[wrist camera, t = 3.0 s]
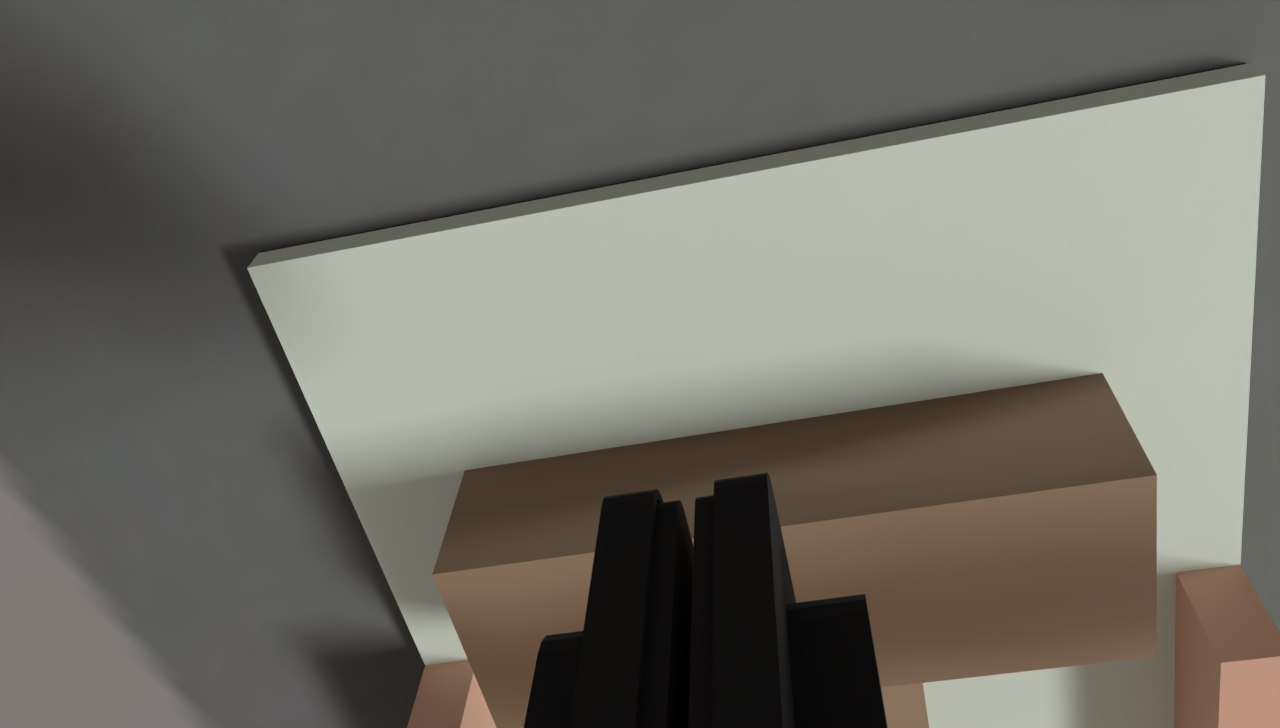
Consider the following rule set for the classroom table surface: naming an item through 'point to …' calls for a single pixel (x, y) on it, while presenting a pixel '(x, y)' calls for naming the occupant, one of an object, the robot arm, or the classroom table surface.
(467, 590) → the t block
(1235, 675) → the pocket
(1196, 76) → the mat
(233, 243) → the classroom table surface
